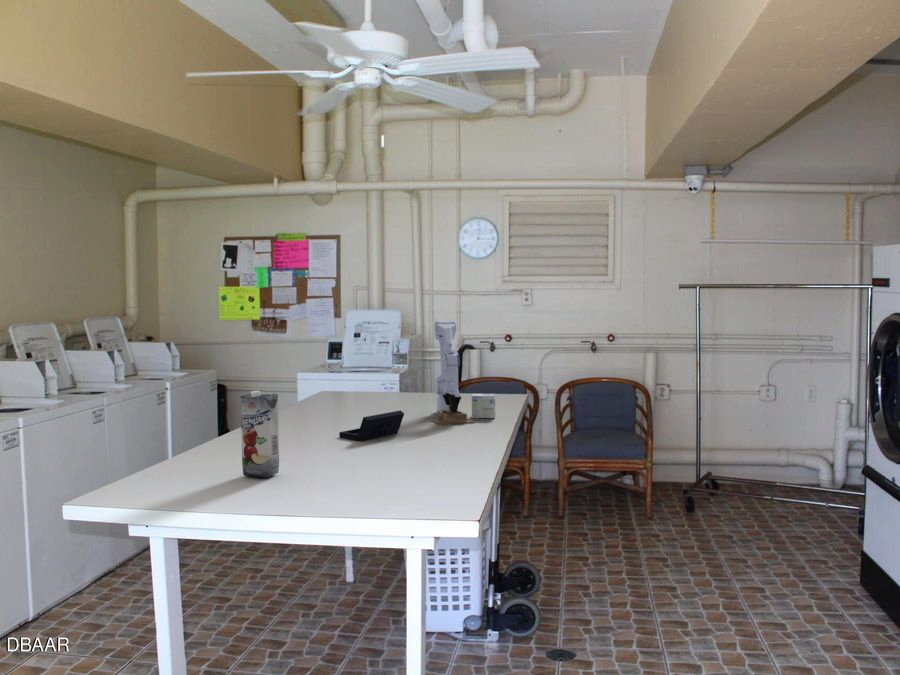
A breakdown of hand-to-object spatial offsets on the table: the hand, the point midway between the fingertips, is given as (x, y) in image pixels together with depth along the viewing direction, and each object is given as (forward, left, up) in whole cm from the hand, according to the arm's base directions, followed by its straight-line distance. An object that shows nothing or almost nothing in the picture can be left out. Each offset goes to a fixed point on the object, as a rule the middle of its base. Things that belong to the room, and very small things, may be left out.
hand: (451, 411), depth 328 cm
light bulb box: (-4, +17, -5) cm, 18 cm away
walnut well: (0, 0, -5) cm, 5 cm away
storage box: (+19, -41, -5) cm, 46 cm away
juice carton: (+67, -90, -5) cm, 112 cm away
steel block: (0, 0, -4) cm, 4 cm away
